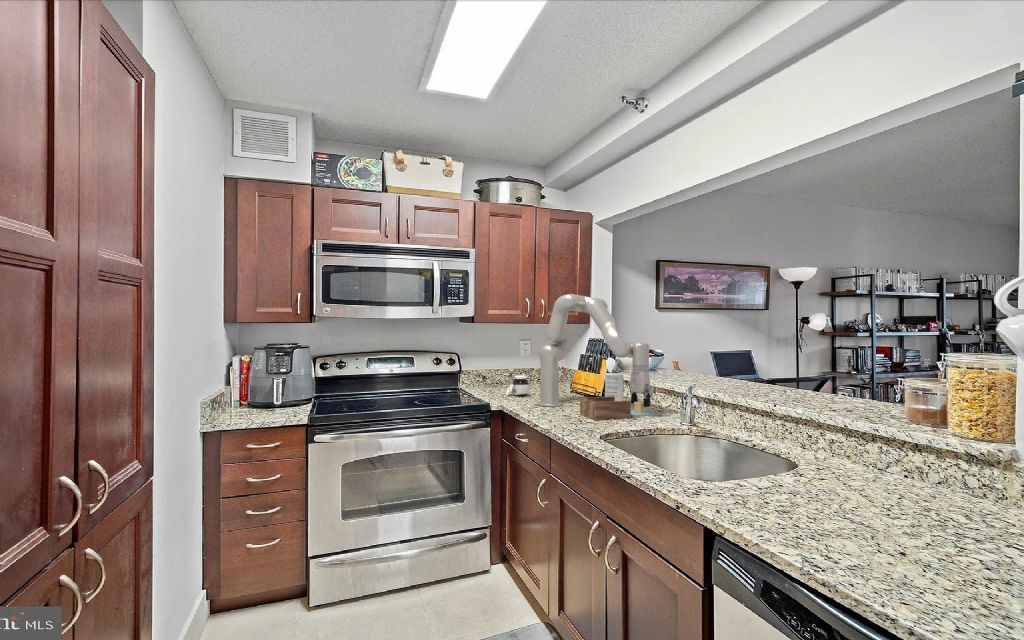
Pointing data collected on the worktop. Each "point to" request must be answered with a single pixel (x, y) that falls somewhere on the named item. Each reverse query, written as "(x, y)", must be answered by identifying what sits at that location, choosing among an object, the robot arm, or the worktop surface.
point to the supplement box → (614, 385)
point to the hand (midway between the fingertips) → (640, 405)
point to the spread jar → (519, 386)
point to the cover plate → (650, 413)
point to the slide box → (604, 408)
